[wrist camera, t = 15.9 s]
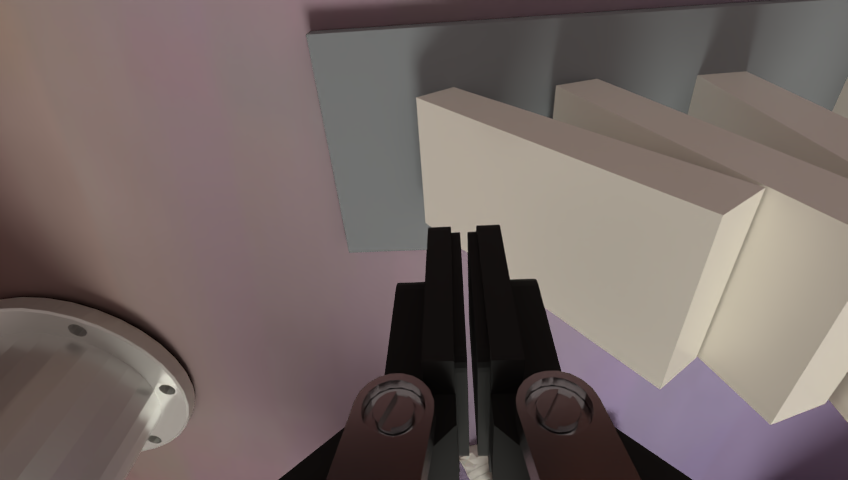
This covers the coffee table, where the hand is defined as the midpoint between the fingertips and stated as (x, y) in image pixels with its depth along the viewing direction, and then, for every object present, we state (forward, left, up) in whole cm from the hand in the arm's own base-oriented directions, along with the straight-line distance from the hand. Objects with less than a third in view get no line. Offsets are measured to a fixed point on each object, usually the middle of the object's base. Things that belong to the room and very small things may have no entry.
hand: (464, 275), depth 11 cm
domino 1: (-1, 0, -7) cm, 7 cm away
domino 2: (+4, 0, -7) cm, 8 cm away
